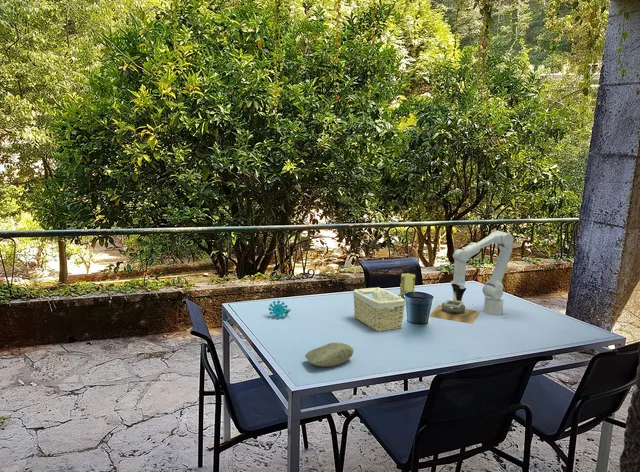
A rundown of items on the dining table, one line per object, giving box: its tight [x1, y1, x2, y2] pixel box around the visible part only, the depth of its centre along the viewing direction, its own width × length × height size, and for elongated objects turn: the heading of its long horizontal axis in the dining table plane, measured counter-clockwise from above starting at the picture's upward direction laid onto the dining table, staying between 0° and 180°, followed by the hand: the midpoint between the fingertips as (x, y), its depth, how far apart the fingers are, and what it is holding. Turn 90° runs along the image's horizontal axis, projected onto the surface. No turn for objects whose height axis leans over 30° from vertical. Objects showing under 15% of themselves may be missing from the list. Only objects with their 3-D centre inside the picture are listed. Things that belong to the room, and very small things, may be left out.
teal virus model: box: [268, 300, 292, 320], centre depth 257 cm, size 11×6×10 cm
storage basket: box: [352, 286, 406, 332], centre depth 252 cm, size 24×16×15 cm
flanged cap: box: [452, 291, 463, 302], centre depth 266 cm, size 5×5×4 cm
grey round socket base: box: [441, 299, 466, 314], centre depth 274 cm, size 12×12×4 cm
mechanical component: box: [399, 272, 416, 298], centre depth 299 cm, size 8×17×20 cm, turn 174°
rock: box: [304, 342, 354, 368], centre depth 201 cm, size 8×11×20 cm
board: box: [428, 304, 482, 325], centre depth 270 cm, size 22×24×1 cm
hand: (457, 299), depth 267 cm, fingers closed on flanged cap, 5 cm apart
